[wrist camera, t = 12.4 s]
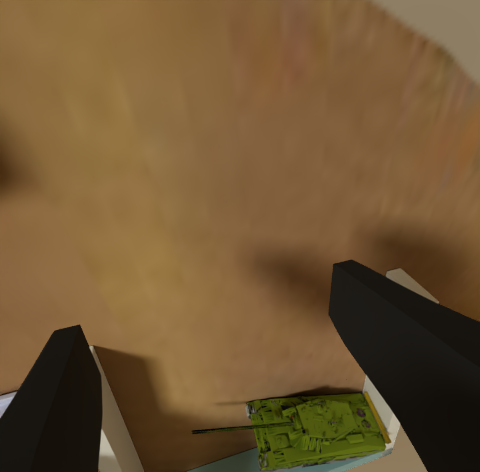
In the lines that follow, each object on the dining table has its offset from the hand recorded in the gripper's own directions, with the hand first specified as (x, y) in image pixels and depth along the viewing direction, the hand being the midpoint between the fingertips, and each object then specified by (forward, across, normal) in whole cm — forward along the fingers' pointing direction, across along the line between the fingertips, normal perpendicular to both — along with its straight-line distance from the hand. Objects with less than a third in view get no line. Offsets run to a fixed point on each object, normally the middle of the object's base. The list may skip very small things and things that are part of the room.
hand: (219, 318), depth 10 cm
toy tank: (+11, -6, +21) cm, 24 cm away
